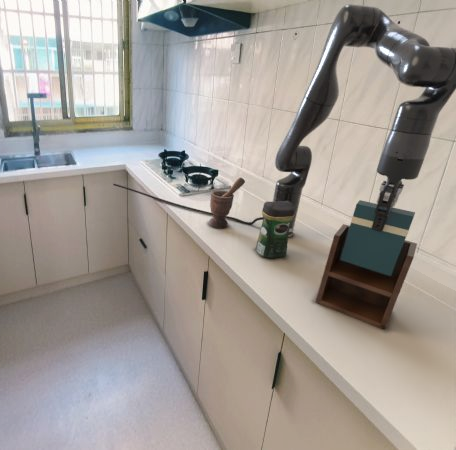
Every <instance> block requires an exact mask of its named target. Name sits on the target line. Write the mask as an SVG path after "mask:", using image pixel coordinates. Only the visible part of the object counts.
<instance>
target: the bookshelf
mask: <svg viewBox="0 0 456 450" xmlns="http://www.w3.org/2000/svg"><path fill="white" fill-rule="evenodd" d="M349 227H350V224H349V225H348V224H343V223H342V225H341V226H340V227H339V229H338V230H337V231H336V232H335V233H334V234H333V238H332V242H331V246H330V248H329V253H328V255H327V259H326V263H325V267H324V270H323V274H322V277H321V281H320V284H319V288H318V292H317V296H316V299H315V303H317V304H319V305H321V306H324V307H327V308H329V309H331V310H334V311H337V312H339V313H341V314H344V315H347V316H349V317H351V318H354V319H356V320H359V321H362V322H364V323H367V324H368V325H371V326H374V327H377V328H379V329H381V330H384V331H385V330H386V327H387V325H388V324H389V323H388V322H389V320H390V317H391V315H392V312H393V310H394V308H395V305H396V303H397V300H398V298H399V295H400V293H401V290H402V288H403V286H404V282H405V280H406V278H407V275H408V273H409V270H410V268H411V265H412V262H413V260H414V258H415V254H416V250H417V245H418V243H416V242H413V241H409V240H406V239H405V241H404V244H403V246H402V249H401V252H400V254H399V257H398V260H397V262H396V265H395V267H394V270H393V273H392V275H391V276H388V275H385V274H382V273H379V272H376V271H373V270H370V269H367V268H363V267H360V266H357V265H354V264H351V263H348V262H345V261H342V260H340V257H341V254H342V251H343V247H344V244H345V241H346V237H347V234H348V231H349Z"/></svg>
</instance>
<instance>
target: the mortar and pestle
mask: <svg viewBox="0 0 456 450" xmlns="http://www.w3.org/2000/svg"><path fill="white" fill-rule="evenodd" d="M244 184H246V180H245V179H244V178H243V177H239V178H237V179H236V181H235V182H234V183H233V184H232V186H231V188H229V190H220V189H218V190H212V191H211V193H210V202H209V207H210V208H209V209H210V213H212V214H213V215H212V216H213V217H211V218H210V219H209V221H208V225H210V226H211V227H212V228H216V229H224V228H227V227H228V221H227V219H226V218H225V216H228V215H229V214H230V211H231V209H232V207H233V201H234V197H235V196H234V194H235V193H236V192H237V191H238V190H239V189H240V188H241V187H242V186H243V185H244Z"/></svg>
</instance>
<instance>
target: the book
mask: <svg viewBox="0 0 456 450" xmlns="http://www.w3.org/2000/svg"><path fill="white" fill-rule="evenodd" d="M376 207H377V203H374V202H370V201H365V200H361V199H360V200H358V202H357V203H356V204H355V207H354V211H353V215H352V216H351V220H350V224H349V226H350V227H349V231H348V234H347V237H346V241H345V244H344V247H343V251H342V254H341V257H340V260H342V261H345V262H348V263H351V264H354V265H357V266H360V267H363V268H367V269H370V270H373V271H376V272H379V273H382V274H385V275H388V276H391V275H392V273H393V270H394V267H395V265H396V262H397V260H398V257H399V254H400V252H401V249H402V246H403V244H404V241H405V240H406V239H407V236H408V234H409V231H410V228H411V226H412V223H413V220H414V217H415V214H416V212H415V211H411V210H406V209H402V208H399V207H391V210H390V215H389V216H388V217H387V220H386V223H385V226H384V228H383V231H382V232H379V231H375V230H372V225H373V222H374V219H375V216H376V214H375V210H376ZM380 209H382V210H386V211H387V208H385V207H380Z"/></svg>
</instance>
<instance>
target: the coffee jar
mask: <svg viewBox="0 0 456 450" xmlns="http://www.w3.org/2000/svg"><path fill="white" fill-rule="evenodd" d="M294 210H295V207H294V205H293V204H292V203H290V202H289V201H276V202H273V201H265V202H264V203H263V207H262V210H261V215H262V217H263V220H262V222H261V227H260V230H259V234H258V238H257V241H256V244H255V251H256V253H257V254H258V255H259V256H261V257H262V258H265V259H277V258H278V259H279V258H284V257H286V256H287V254H288V253H287V252H288V243H289V237H288V234H289V227H290V223H291V221H292V219H293V217H294Z"/></svg>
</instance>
